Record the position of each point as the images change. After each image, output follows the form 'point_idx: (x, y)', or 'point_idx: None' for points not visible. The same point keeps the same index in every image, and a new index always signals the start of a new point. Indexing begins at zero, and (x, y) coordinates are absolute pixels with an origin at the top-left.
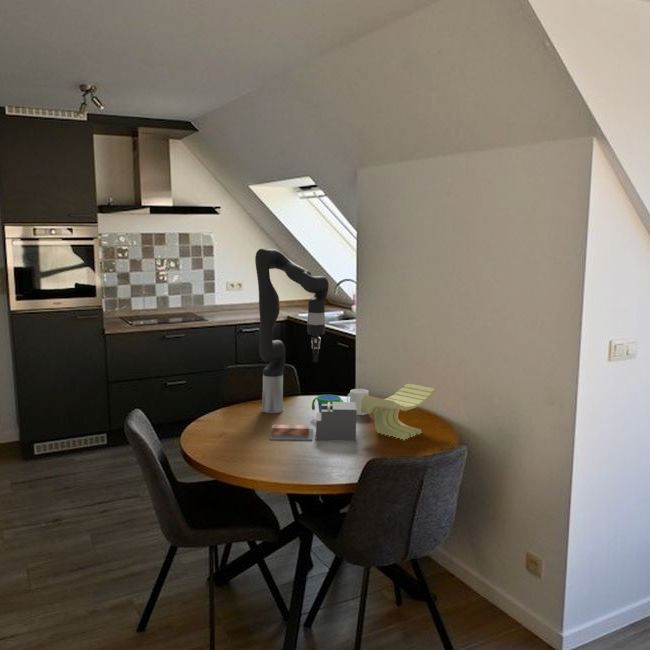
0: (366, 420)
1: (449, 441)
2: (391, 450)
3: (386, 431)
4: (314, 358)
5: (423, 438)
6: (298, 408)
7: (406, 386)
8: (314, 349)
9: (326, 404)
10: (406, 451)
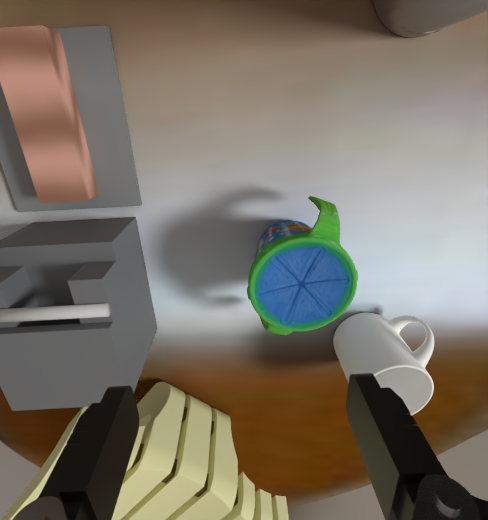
0: (281, 355)
1: None
2: None
3: (147, 405)
4: (75, 436)
5: None
6: (452, 116)
7: None
8: (405, 490)
9: (97, 299)
10: (30, 431)
